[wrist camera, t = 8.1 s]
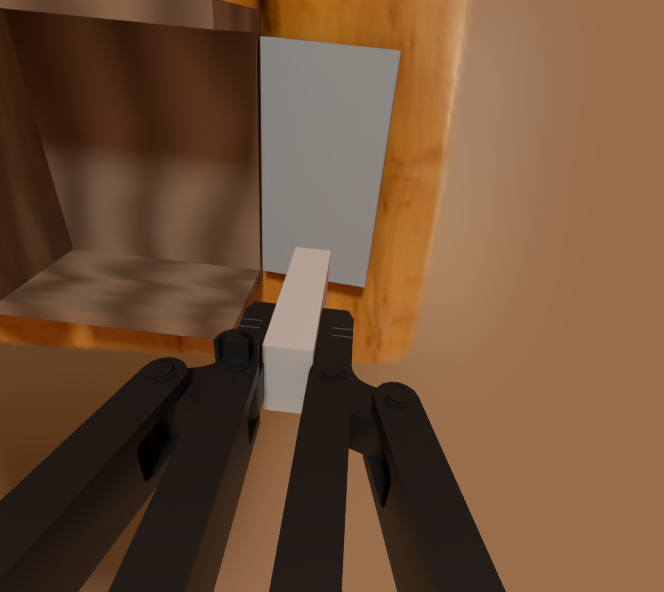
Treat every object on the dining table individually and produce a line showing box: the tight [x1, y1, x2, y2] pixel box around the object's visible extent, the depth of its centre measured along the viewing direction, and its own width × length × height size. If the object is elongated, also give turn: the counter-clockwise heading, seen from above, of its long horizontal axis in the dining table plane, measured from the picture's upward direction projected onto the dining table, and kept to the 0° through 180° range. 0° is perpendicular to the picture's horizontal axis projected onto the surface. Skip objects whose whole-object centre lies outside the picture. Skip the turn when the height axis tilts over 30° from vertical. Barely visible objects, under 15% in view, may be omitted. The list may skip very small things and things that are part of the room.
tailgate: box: [260, 36, 401, 288], centre depth 30 cm, size 1×17×9 cm
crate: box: [0, 0, 263, 339], centre depth 28 cm, size 18×20×10 cm
